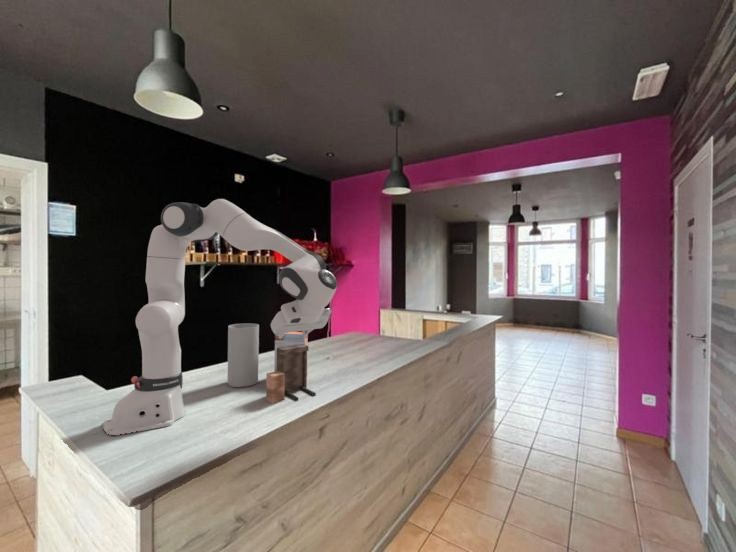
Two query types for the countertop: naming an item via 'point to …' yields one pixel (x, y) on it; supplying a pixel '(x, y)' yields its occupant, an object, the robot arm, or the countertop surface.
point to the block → (275, 386)
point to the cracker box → (290, 342)
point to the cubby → (294, 368)
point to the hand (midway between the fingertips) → (292, 335)
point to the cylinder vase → (243, 354)
